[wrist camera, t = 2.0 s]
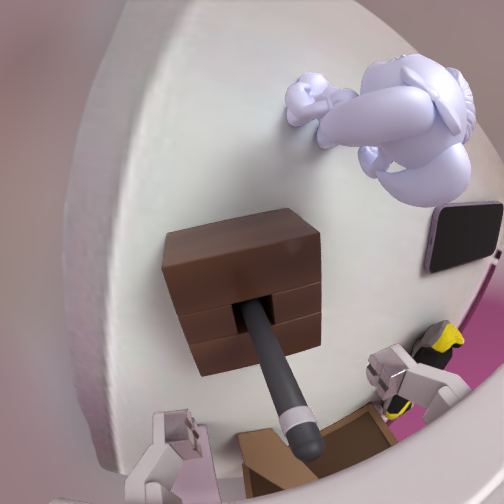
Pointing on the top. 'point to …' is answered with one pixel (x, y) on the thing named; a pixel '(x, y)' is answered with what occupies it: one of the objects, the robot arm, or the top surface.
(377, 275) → the top surface
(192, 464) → the electronic device
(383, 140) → the toy figurine
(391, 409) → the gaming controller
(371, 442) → the photo frame
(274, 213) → the pen block
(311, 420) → the stylus
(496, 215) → the smartphone
